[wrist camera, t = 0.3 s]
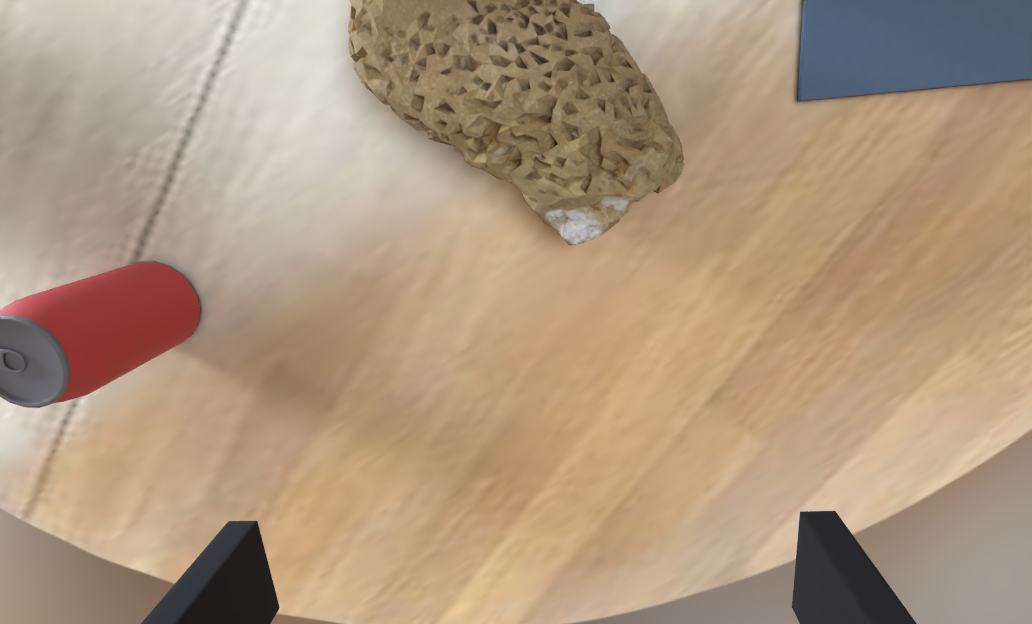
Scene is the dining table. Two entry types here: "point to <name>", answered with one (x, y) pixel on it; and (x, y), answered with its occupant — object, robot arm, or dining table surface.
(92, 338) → the beer can
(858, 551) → the robot arm
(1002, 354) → the dining table surface
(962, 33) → the mat
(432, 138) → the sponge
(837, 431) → the dining table surface
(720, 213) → the dining table surface
